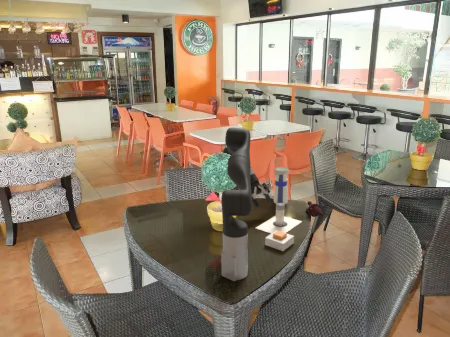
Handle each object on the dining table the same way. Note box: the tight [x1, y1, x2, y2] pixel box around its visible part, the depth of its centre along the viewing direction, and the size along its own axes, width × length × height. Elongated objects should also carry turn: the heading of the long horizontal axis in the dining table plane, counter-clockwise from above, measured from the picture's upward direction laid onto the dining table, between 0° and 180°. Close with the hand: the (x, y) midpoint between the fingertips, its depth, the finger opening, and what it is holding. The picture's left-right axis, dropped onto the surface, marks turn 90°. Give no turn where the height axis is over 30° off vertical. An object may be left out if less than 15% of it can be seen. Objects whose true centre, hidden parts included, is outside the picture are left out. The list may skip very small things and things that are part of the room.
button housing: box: [264, 230, 295, 252], centre depth 162 cm, size 9×9×4 cm
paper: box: [255, 215, 303, 235], centre depth 181 cm, size 20×14×1 cm
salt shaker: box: [275, 203, 286, 226], centre depth 180 cm, size 4×4×10 cm
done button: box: [273, 231, 288, 241], centre depth 162 cm, size 4×4×2 cm
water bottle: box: [273, 157, 290, 205], centre depth 206 cm, size 8×9×25 cm
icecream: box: [305, 200, 324, 218], centre depth 190 cm, size 7×7×15 cm
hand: (264, 204), depth 188 cm, fingers open, 8 cm apart
